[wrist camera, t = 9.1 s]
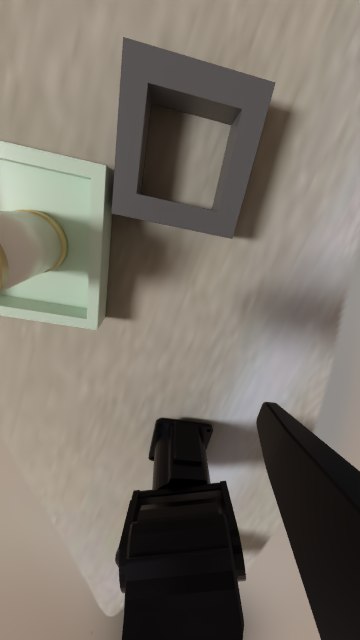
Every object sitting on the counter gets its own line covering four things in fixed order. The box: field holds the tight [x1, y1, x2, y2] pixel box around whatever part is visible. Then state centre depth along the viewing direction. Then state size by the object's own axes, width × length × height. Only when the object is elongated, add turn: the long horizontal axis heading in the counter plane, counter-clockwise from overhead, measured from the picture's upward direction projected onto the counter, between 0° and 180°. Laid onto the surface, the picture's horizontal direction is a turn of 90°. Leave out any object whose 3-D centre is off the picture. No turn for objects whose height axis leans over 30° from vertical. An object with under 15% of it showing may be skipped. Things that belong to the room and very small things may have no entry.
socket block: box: [112, 37, 275, 239], centre depth 15 cm, size 8×8×2 cm
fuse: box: [0, 210, 69, 293], centre depth 13 cm, size 4×4×8 cm
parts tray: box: [0, 141, 114, 330], centre depth 16 cm, size 11×10×2 cm
